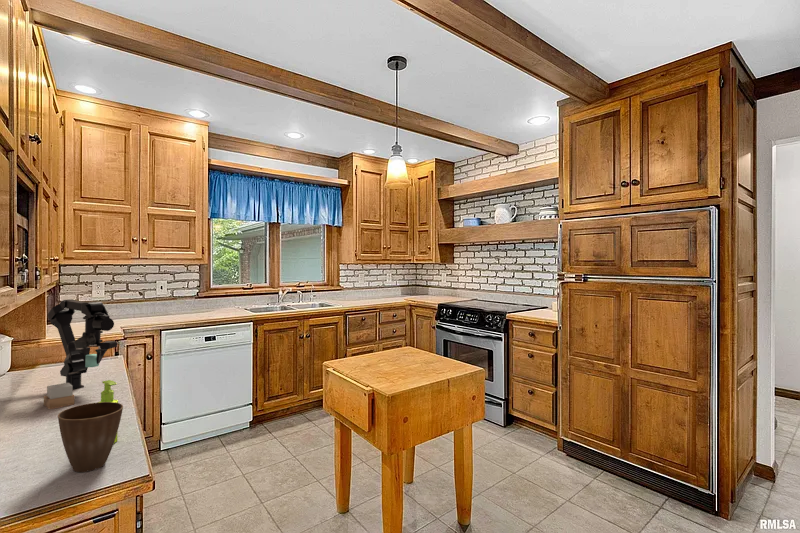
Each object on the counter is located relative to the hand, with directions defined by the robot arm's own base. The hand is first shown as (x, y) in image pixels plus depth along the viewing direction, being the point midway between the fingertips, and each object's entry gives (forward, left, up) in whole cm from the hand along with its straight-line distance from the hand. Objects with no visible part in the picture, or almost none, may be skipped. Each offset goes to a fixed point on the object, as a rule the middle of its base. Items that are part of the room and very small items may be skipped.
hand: (92, 363), depth 189 cm
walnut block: (+11, -15, -13) cm, 23 cm away
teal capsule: (0, 0, -1) cm, 1 cm away
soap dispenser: (+69, -18, -13) cm, 72 cm away
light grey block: (+11, -15, -9) cm, 21 cm away
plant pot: (+83, -27, -13) cm, 88 cm away
